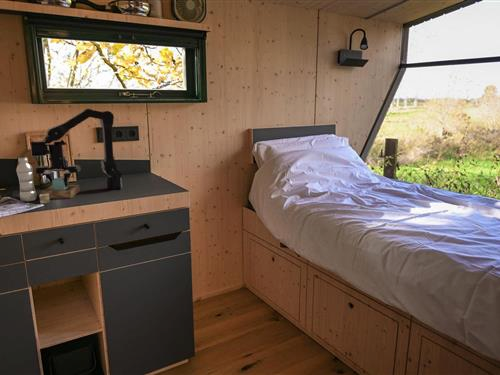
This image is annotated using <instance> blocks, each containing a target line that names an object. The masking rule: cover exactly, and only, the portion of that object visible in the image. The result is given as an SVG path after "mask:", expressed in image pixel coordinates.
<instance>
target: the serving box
mask: <svg viewBox="0 0 500 375" xmlns="http://www.w3.org/2000/svg"><path fill="white" fill-rule="evenodd" d="M80 191H81V190H80V185H79V184H71V185H69V184H68V188H67V189H65V190H53V185H51V186H49V187H47V188H45V189H44V190H42V191H40V194H49V200H57V199H60V200H61V199H65V200H66V199H72V198H73V197H75V196H77V194H79V193H80Z"/></svg>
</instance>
